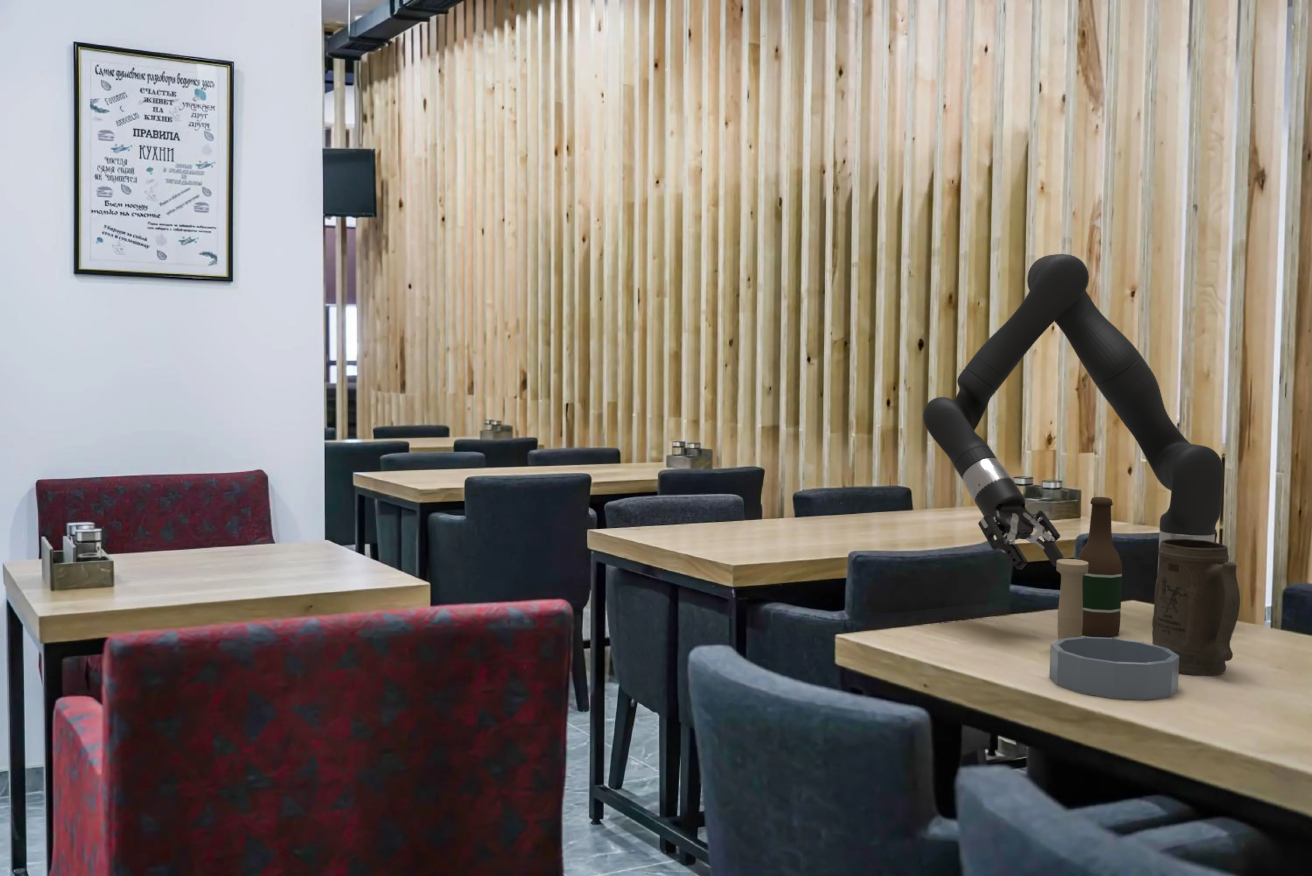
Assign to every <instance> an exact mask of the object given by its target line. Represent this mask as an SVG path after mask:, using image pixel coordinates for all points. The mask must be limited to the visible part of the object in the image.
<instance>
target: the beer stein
mask: <svg viewBox="0 0 1312 876" xmlns="http://www.w3.org/2000/svg"><path fill="white" fill-rule="evenodd" d="M1157 553H1158V557H1159V568H1158V567H1157V577H1156V580H1155V586H1154V602H1153V603H1154V606H1153V615H1152V620H1151V621H1152V622H1151V624H1152V633H1151V636H1152V642H1151V644H1153V645H1157V646H1160V647H1164V648H1168V649H1170V650H1171V651H1173V652H1174V653H1176V654H1177V655H1179V674H1182V675H1188V676H1190V675H1191V676H1216V675H1221V674H1223V673H1225V672H1226V671H1227V665H1226V662H1229V661H1231V660H1232V659H1233V655H1234V654H1233V651H1232V648H1231V640H1232V637H1233V634H1234V631H1235V629H1236V625H1237V623H1238V618H1239V614H1240V606H1241V595H1240V587H1239V583H1238V578H1237V564H1236V563H1235V562H1232V561H1229V560H1230V556H1229V550H1228V546H1227V545H1224V544H1223V543H1219V542H1210V541H1205V540H1192V539H1167V540H1163V541H1161V543H1160V548H1159V547H1158V552H1157Z"/></svg>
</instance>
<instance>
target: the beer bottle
mask: <svg viewBox="0 0 1312 876" xmlns="http://www.w3.org/2000/svg"><path fill="white" fill-rule="evenodd" d="M1089 504H1091V511H1090V513H1091V514H1090V521H1089V531H1088V537H1087V540H1086V543H1085V544H1084V546H1083V547H1082V548H1081V549H1080V552H1079V554H1078V557H1077V559H1076V560H1083V561H1086V562H1088V573H1086V574H1084V575H1083V579H1082V596H1083V627H1082V636H1083V637H1105V638H1116V637H1118V636H1119V635H1120V630H1121V629H1120V628H1121V613H1122V612H1121V611H1122V592H1123V591H1122V589H1123V588H1122V586H1123V563H1122V560H1121V557H1120V554H1119V552H1118V551H1117V549H1116V548H1115V545H1114V543H1113V536H1112V506H1113V505H1114V503H1113V499H1112V498H1110V497H1105V496H1095V497H1091V499H1090V503H1089Z"/></svg>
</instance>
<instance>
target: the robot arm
mask: <svg viewBox="0 0 1312 876" xmlns="http://www.w3.org/2000/svg"><path fill="white" fill-rule="evenodd" d="M1089 278H1090V276H1089V271H1088V267H1087V266H1086V264H1085V263H1084V262H1083V261H1082V260H1081V259H1080V258H1078V256H1075V255H1072V254H1067V253H1065V254H1064V253H1057V254H1056V253H1055V254H1048V255H1045V256H1042V257H1039V258H1038V259H1036V260H1035V261H1034V262H1033V263H1032V265H1031V266H1030V267H1029V270H1028V273H1027V278H1026V279H1027V280H1026V283H1027V288H1028V290H1029V291H1028V293H1027V294H1026V296H1025V298H1024V300H1023V301H1022V303H1021V304H1020V305H1019V307H1018V308H1017V309H1016V310H1015V312H1014V313H1013V314H1012V315H1011V316H1010V317H1009V318H1008V319H1007V321H1006V322H1005V323H1004V324H1003V325H1002V326H1000V328H999V329H997V331H995V333H993V334H992V335H991V337H989V338H988V339H987V340H986V342H984V343H983V344H982V346H981V347H980V348H979V350H978V351H977V352H976V353H975V354H974V356H973V357H972V358H971V359H970V361H969V362H968V363H967V364H966V366H964V368H963V369H962V370H961V372H960V373H959V376H958V377H957V379H956V380H957V381H956V382H957V385H958V388H959V389H958V392H957V394H956V396H955V398H954V399H952V398H950V397H947V396H938V397H935V398H933V399H931V400H930V401H928V402H927V404H926V405H925V407H924V410H923V413H922V420H923V424H924V425H925V429H926V430H927V432H928V433H929V435H930V436H931V437H932V439H933V440H934V441H935V442H936V443H937V445H938V446H939V447H940V448H941V449H942V451H943V452H944V453H945V454H946V455H947V457H948V458H949V459H950V461H951V463H952V465H953V467H954V468H955V470H956V472H957V473H958V475H959V477H960V478H961V479H962V481H963V483H964V485H965V488H966V489H967V492H968V494H969V495H970V497H971V498H972V500H973V501H974V503H975V505H976V507H977V508H978V510H979V511H980V513H981V514H982V515H983V517H981V519H980V521H978V522H977V525H978V526H979V529H980V530H981V532H982V534H983V535H984V537H985V539H986V540H987V542H988V544H989V546H990V548H991V549H992V550H993V551H997V550H1001V552H1003V553H1004V554H1006V555H1007V557H1008V559H1009V561H1010V562H1011V564H1012V565H1013V566H1014V567H1015V568H1016V570H1023V569H1024V568H1025V567H1026V566H1027V565H1028V559H1027V558H1026V557H1025V555H1024V553H1023V551H1021V549H1020V547H1019V545H1018V544H1016V540H1026V541H1027V542H1028V543H1030V544H1036V545H1037V546H1038V547H1039V548H1041V549H1042V551H1043V553H1044V554H1045V556H1046V557H1047V559H1048V560H1049V562H1050V563H1051V565H1052V566H1053V567H1056V565H1057V560H1059V559H1065V558H1064V555H1063V554H1062V552H1061V550H1060V549H1059V548H1058V546H1057V544H1056V542H1057V541H1058V540H1060V538H1061V534H1060V533H1059V531H1058V530H1057V529H1056V527H1055V526H1054V524H1053V523H1052V522H1051V521H1050V519H1049V518H1048V516H1047V515H1046V513H1045V512H1044V511H1043V510H1038V512H1036V513H1031V512H1030V511H1028V509H1027V508H1026V498H1025V496H1024V494H1023V493H1022V492H1021V490H1020V488H1019V486H1018V485H1017V484H1016V482H1015V481H1014V480H1013V478H1012V476H1011V475H1010V473H1009V471H1008V470H1007V469H1006V468H1005V467H1004V464H1002V463H1001V462H1000V461H999V460H998V458H997V456H996V455H995V453H994V452H993V450H992V449H991V447H990V446H989V445H988V443H987V442H986V441H985V440H984V439H983V438H982V437H981V436H980V435H979V434H977V432H976V429H977V427H978V426H979V423H980V422H981V419H982V418H983V416H984V413H985V412H986V409H987V408H988V405H989V402H990V400H991V398H992V397H993V396H994V395H995V393H996V392H997V391H998V390H999V389H1000V387H1001V386H1002V385H1003V383H1004V382H1005V381H1006V380H1007V378H1008V377H1009V375H1011V373H1012V372H1013V370H1015V368H1016V366H1017V365H1018V364H1019V362H1020V361H1021V360H1022V358H1023V357H1024V356H1025V355H1026V354H1027V352H1028V351H1029V350H1030V349H1031V348H1032V346H1033V345H1034V344H1035V342H1037V341H1038V339H1039V338H1040V337H1041V336H1042V335H1043V334H1044V333H1045V332H1046V330H1047V329H1048V328H1049V327H1050V326H1052V324H1054V323H1056V325H1057V326H1058V328H1059V330H1061V332H1062V333H1063V334H1064V336H1065V337H1066V339H1067V340H1068V342H1069V344H1070V347H1071V348H1072V349H1073V351H1074V352H1075V354H1076V356H1077V358H1078V359H1079V361H1080V362H1081V364H1082V365H1083V367H1084V368H1085V370H1086V372H1087V373H1088V375H1089V376H1090V378H1091V380H1092V381H1093V383H1094V384H1095V386H1096V387H1097V389H1098V390H1099V391H1100V393H1101V394H1102V396H1103V397H1104V399H1105V400H1106V401H1107V402H1108V403H1109V405H1110V406H1111V408H1112V409H1113V411H1114V413H1116V415H1117V417H1118V418H1119V419H1120V420H1121V422H1122V423H1123V425H1124V426H1125V427H1126V428H1127V429H1128V431H1129V433H1130V434H1131V435H1132V436H1133V438H1134V440H1135V441H1136V442H1137V444H1138V446H1139V448H1140V449H1141V451H1142V454H1143V455H1144V456H1145V459H1146V460H1147V462H1148V464H1149V466H1150V467H1151V469H1152V472H1153V474H1154V475H1155V477H1156V479H1157V480H1158V482H1159V483H1160V484H1161V485H1162V486H1163V487H1164V488H1166V489H1167V490H1169V491H1170V501H1169V507H1168V509H1167V510H1166V512H1164V513H1163V514H1161V516H1160V518H1159V532H1158V533H1159V534H1158V535H1159V537H1158V549H1159V548H1160V543H1161V541H1163V540H1167V539H1192V540H1205V541H1210V542H1215V539H1216V538H1215V537H1216V528H1217V527H1216V526H1217V524H1218V522H1219V519H1220V517H1221V512H1222V504H1223V493H1224V492H1223V491H1224V490H1223V489H1224V481H1225V479H1224V477H1225V476H1224V474H1225V473H1224V472H1225V471H1224V465H1223V462H1222V459H1221V457H1220V455H1219V454H1218V453H1217V452H1216V451H1215V449H1213V448H1211V447H1208V446H1205V445H1203V444H1202V445H1200V444H1193V443H1191V442H1189V441H1188V440H1187V439H1186V438H1185V436H1184V435H1183V434H1182V433H1181V431H1180V430H1179V429H1178V428H1177V426H1176V425H1175V423H1174V422H1173V420H1172V419H1171V418H1170V415H1169V414H1168V412H1167V410H1166V407H1165V404H1164V401H1163V400H1164V399H1163V397H1162V392H1161V389H1160V386H1159V383H1158V379H1157V377H1156V376H1155V374H1154V372H1153V371H1152V369H1151V367H1150V366H1149V364H1148V363H1147V362H1146V361H1145V359H1144V358H1143V356H1142V354H1141V353H1140V351H1139V350H1138V349H1137V348H1136V347H1135V345H1134V344H1133V343H1132V342H1131V341H1130V340H1129V339H1128V338H1127V337H1126V336H1125V335H1124V333H1122V332H1121V330H1119V329H1118V328H1117V326H1115V325H1114V324H1113V323H1112V322H1111V321H1109V320H1108V319H1107V318H1106V317H1105V316H1104V315H1103V314H1102V312H1101V311H1100V310H1099V308H1097V306H1096V305H1095V303H1094V302H1093V299H1092V298H1091V296H1090V295H1089V293H1088V292H1087V288H1088V285H1089ZM1034 530H1036V531H1035V533H1034ZM1048 532H1049V533H1048ZM1040 537H1041V538H1042V539H1043V540H1042V539H1041V538H1040ZM995 538H996V539H995ZM1215 543H1216V542H1215ZM1158 568H1159V556H1158V562H1157V569H1158Z"/></svg>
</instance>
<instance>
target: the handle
mask: <svg viewBox="0 0 1312 876" xmlns="http://www.w3.org/2000/svg"><path fill="white" fill-rule="evenodd" d="M1055 567H1056V568H1055V569H1056V572H1058V573H1059V574H1060V587H1059V588H1060V590H1059V601H1058V608H1057V609H1058V610H1057V640H1059V639H1064V638H1074V637H1083V635H1082V627H1083V596H1082V579H1083V575H1084V574H1086V573H1088V562H1086V561H1083V560H1077V559H1073V558H1064V559H1059V560H1057V565H1056V566H1055Z"/></svg>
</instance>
